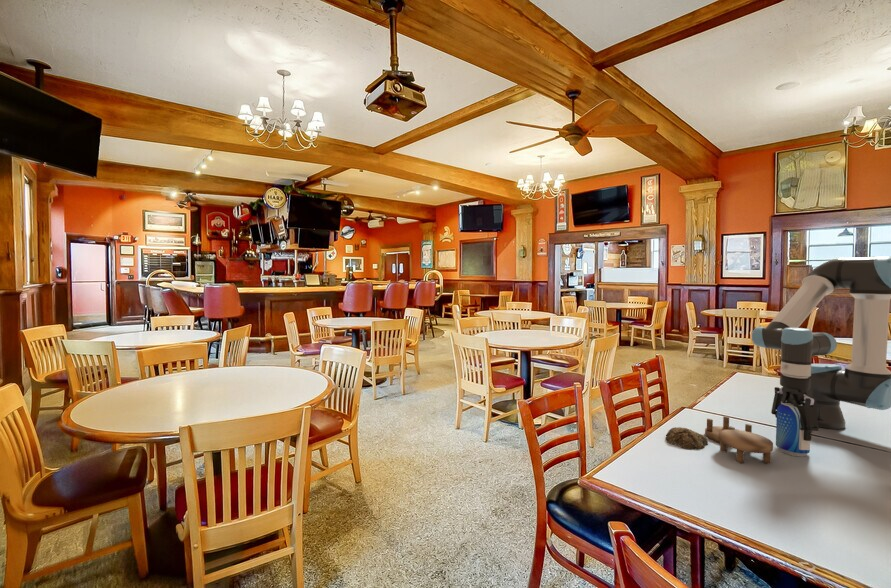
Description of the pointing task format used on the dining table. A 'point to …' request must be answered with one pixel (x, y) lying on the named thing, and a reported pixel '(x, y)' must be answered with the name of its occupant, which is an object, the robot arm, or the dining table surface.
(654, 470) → the dining table surface
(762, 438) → the footstool
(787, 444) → the beer can
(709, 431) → the upturned footstool
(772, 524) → the dining table surface
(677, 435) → the bread roll
